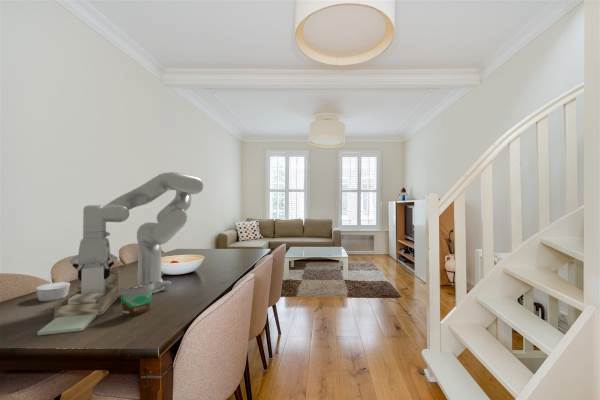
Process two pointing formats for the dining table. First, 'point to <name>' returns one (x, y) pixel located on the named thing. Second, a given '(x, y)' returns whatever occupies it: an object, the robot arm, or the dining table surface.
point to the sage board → (67, 324)
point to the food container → (136, 299)
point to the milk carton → (93, 279)
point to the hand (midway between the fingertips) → (94, 278)
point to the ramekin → (52, 291)
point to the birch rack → (93, 308)
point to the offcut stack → (84, 299)
